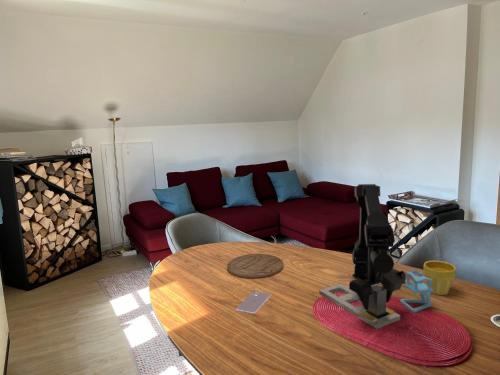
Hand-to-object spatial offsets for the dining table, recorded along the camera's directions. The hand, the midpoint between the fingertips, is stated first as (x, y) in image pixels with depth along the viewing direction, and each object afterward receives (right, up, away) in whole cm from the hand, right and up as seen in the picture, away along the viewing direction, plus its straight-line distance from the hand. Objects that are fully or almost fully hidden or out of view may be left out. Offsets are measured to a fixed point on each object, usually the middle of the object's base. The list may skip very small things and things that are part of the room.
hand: (376, 305), depth 122 cm
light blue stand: (+16, -2, +7) cm, 18 cm away
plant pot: (+28, 0, +16) cm, 32 cm away
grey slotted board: (-4, -3, +9) cm, 10 cm away
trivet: (-38, +2, +47) cm, 60 cm away
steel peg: (0, -4, +1) cm, 4 cm away
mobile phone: (-39, -4, +15) cm, 42 cm away
